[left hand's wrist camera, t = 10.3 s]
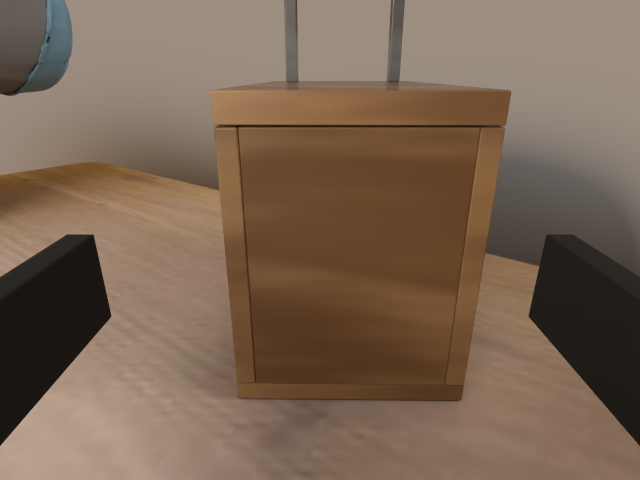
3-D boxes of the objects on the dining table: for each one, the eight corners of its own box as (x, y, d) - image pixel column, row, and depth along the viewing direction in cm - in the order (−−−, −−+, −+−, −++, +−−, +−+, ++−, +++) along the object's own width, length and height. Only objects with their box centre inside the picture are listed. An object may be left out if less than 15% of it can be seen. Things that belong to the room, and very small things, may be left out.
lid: (275, 97, 29) (270, -43, 26) (406, 97, 29) (416, -43, 26) (212, 125, 13) (180, -231, 10) (506, 125, 13) (564, -235, 10)
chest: (279, 245, 33) (273, 98, 29) (397, 245, 33) (408, 98, 29) (238, 398, 17) (212, 126, 13) (461, 400, 17) (506, 127, 13)
